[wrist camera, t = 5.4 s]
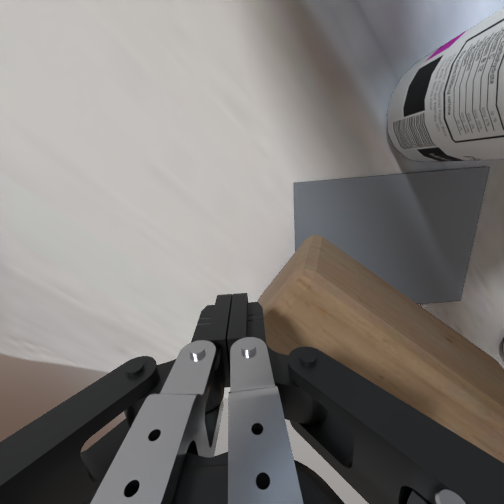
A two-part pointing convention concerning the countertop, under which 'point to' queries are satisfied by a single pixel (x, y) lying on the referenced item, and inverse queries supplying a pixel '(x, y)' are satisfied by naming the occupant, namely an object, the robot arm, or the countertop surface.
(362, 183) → the mat
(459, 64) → the supplement can
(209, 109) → the countertop surface
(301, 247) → the wooden block
